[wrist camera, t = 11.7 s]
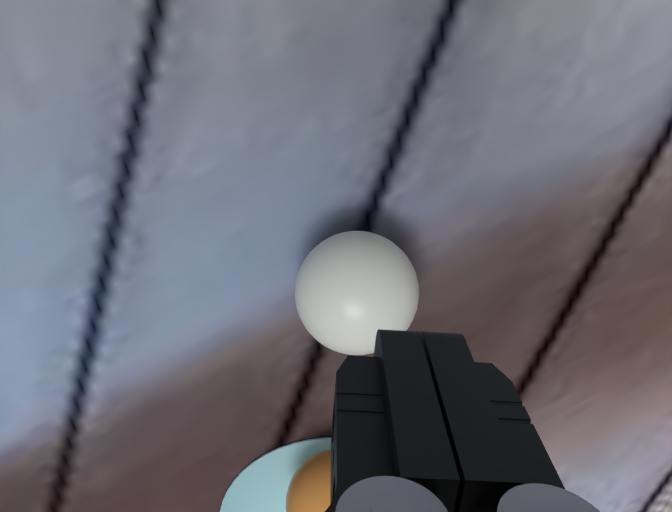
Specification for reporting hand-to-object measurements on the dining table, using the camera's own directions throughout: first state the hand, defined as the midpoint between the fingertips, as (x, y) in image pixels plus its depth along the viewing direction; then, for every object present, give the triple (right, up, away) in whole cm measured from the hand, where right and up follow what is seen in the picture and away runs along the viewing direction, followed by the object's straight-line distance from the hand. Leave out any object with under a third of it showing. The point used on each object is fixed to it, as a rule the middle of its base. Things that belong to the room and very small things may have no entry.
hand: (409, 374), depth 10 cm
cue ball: (0, +1, +15) cm, 15 cm away
